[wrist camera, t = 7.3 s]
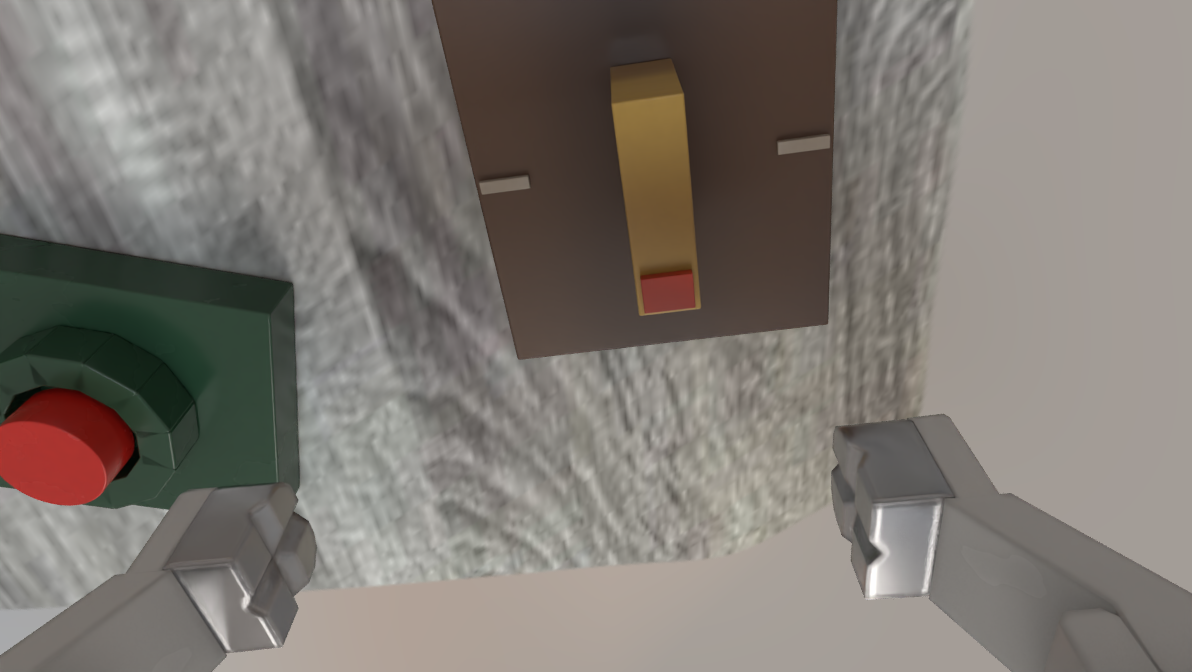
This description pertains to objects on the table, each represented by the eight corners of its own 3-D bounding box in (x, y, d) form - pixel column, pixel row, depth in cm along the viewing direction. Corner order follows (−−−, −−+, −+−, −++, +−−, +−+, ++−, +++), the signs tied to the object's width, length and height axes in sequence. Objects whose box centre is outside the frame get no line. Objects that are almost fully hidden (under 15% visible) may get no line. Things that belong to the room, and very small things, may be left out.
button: (127, 396, 24) (96, 431, 23) (141, 476, 26) (114, 512, 25) (11, 379, 24) (-28, 413, 23) (35, 461, 26) (0, 497, 24)
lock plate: (810, -118, 20) (843, -116, 17) (806, 279, 26) (830, 327, 23) (442, -58, 20) (417, -47, 18) (526, 313, 27) (517, 363, 24)
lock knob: (609, 66, 19) (610, 106, 16) (671, 57, 19) (685, 95, 16) (634, 256, 22) (639, 321, 19) (688, 249, 22) (702, 314, 19)
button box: (293, 282, 26) (247, 344, 23) (300, 486, 31) (263, 561, 28) (-70, 221, 25) (-175, 277, 22) (0, 444, 30) (-75, 517, 27)
